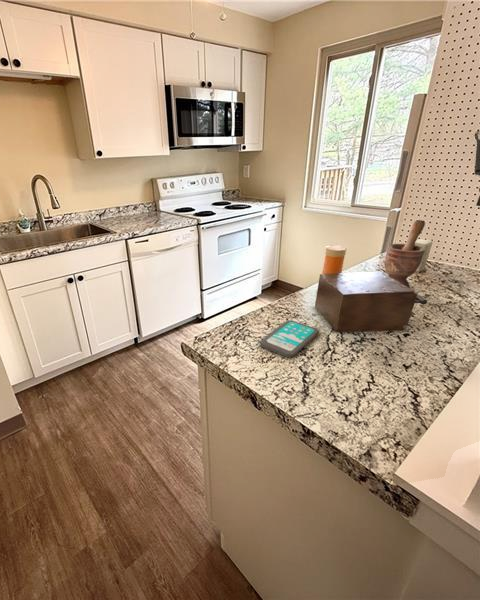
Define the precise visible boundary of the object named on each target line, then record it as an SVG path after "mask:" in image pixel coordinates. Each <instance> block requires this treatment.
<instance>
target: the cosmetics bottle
mask: <svg viewBox="0 0 480 600" xmlns="http://www.w3.org/2000/svg"><path fill="white" fill-rule="evenodd" d="M433 242H434V241H433V240H432V239H431V240H430V239H424V238H423V239H422V238H417V240H416V242H415V245H416V246H419V247H423V248H424V249H425V251H424V254H423V257H422V260H421V263H420V265H419V267H418V268H417V270H416V271H415V273H419V272H421V271H423V270H425V269H426V266H427V263H428V258H429V255H430V252H431V248H432V245H433Z"/></svg>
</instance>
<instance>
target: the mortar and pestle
mask: <svg viewBox="0 0 480 600" xmlns="http://www.w3.org/2000/svg"><path fill="white" fill-rule="evenodd" d="M425 226H426V222H425V221H424V220H422V219H416V220H415V221H414V222H412V224H411V227H410V230H409V233H408V237H407V240H406V242H405V243H391V244H388V245H387V249H386V254H385V257H384V271H385V272H386V273H387V275H388V276H389V277H391V278H393V279H395V280H396V281H398V282H400V283H401V284H403V285H405V286H407V287H408V288H410V289H411V286H410V283H409V281H408V280H407V279H408V278H409V277H411V276H413V275H414V274H415V273H416V272H415V271H416V270H417V268H418V267H419V265H420V263H421V260H422V257H423V254H424V251H425V249H424V248H423V247H419V246H416V245H415V242H416V240H417V239H419V236H420V235H421V234H422V231H423V230H424V228H425Z"/></svg>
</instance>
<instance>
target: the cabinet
mask: <svg viewBox="0 0 480 600" xmlns="http://www.w3.org/2000/svg"><path fill="white" fill-rule="evenodd" d="M414 292H416V291H415V290H414V289H412V288H411V287H410V288H408V287H407V286H405V285H403V284H401V283H400V282H398V281H396V280H395V279H393V278H391V277H389V274H386V273H385V272H383V271H381V270H376V271H359V272H355V271H354V272H342V273H335V274H322V273H321V274H319V277H318V283H317V291H316V296H315V301H314V302H315V303H314V309H315V310H316V311H317V313H318V314H319V315H320V316H321V317H322V319H324V321H325V322H326V323H327V324H328V325H329V326H330V327H331V328H332V330H333V331H334V332H335V333H351V332H353V333H354V332H357V333H358V332H385V331H392V332H393V331H404V328H405V326H404V325H405V322H406V319H407V316H408V312H409V309H410V306H411V302H412V299H413V296H414Z"/></svg>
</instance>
